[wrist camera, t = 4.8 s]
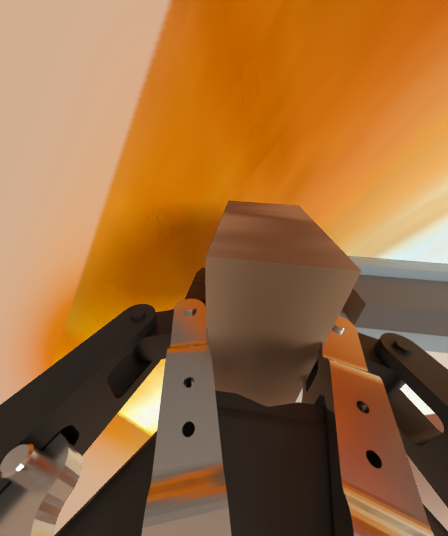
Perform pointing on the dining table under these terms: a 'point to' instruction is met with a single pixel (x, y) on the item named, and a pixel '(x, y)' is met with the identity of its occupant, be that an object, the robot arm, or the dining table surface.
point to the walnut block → (271, 299)
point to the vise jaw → (402, 311)
